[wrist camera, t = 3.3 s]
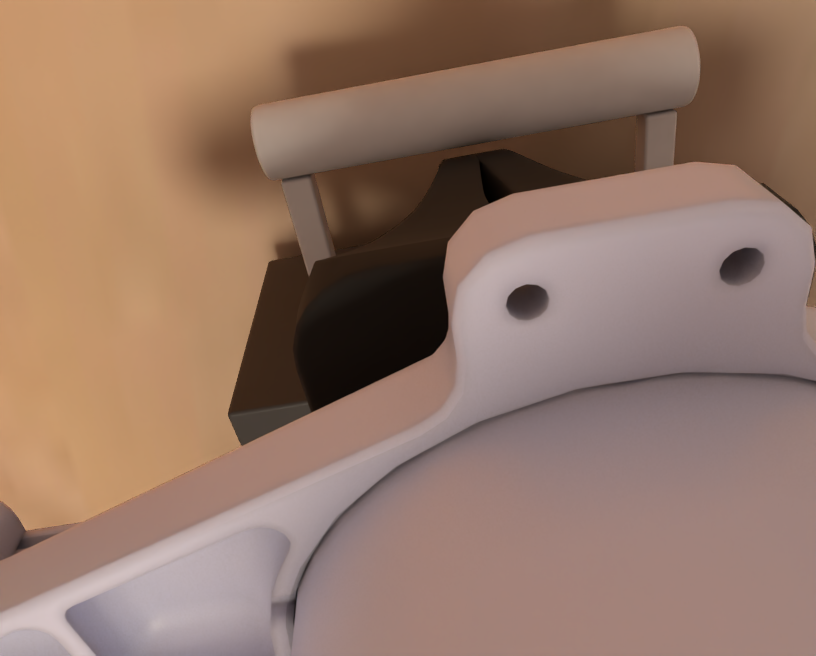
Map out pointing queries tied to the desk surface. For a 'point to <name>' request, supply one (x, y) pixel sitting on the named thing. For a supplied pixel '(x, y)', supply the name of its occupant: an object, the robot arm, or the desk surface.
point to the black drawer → (428, 132)
